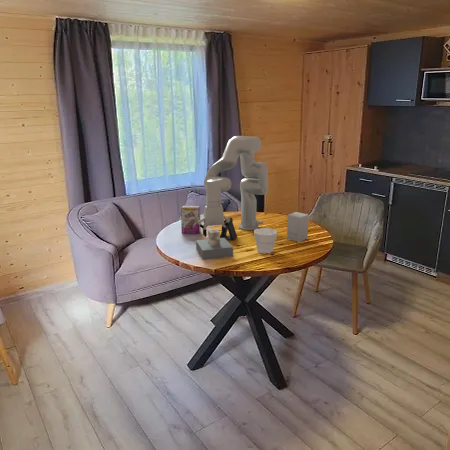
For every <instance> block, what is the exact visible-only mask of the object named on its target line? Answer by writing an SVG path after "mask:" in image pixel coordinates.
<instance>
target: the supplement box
mask: <svg viewBox="0 0 450 450" xmlns="http://www.w3.org/2000/svg"><path fill="white" fill-rule="evenodd" d="M309 217H310V215H309V214H307V213H303V212H298V211H294V212H292V213H289V214H287V221H286V222H287V226H286V227H287V228H286V240H288V239H290V240H289V241H292V240H293V241H292V242H296V241H297V243H301V242H304V241H306V240H308V235H309V220H310V219H309ZM305 239H306V240H305ZM303 240H304V241H303Z"/></svg>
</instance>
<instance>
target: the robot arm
mask: <svg viewBox="0 0 450 450" xmlns="http://www.w3.org/2000/svg"><path fill="white" fill-rule="evenodd" d="M261 148H262V140H261V139H260V137H258V136H252V135H251V136H250V135H249V136H248V135H247V136H246V135H235V136H233V137H231V138H230V139H229V140H228V142H227V143H226V146H225V149H224V151H223V154H222V156H221V158H220V159H218V160H217V161H216V162H215V163H214V164H212V165H211V166H210V167H209V168H208V171H207V172H206V175H205V178H204V182H203V185H204V188H205V192H206V193H205V195H206V196H205V197H206V200H205V202H206V203H205V204H206V205H205V206H204V209H203V217H201V218H200V220H199V221H197V222H198V224H199V226H200V228H201V229H202V235H203V236H204V238H206V237H208V231H207V228H208V227H212V226H221V232H222V234H223V235H224V233H225V228H226V226H227V225H228V224H229V221H230V219H229V217H227V216H225V215H224V208H223V205H222V204H224V203H225V202H224V200H222V193H223V192H224V193H225V192H228V191H229V190H230V189H231V187H232V181H231V178H228V177H226V176H217V175H218V174H220V173H221V172H225V171H229V170H231V169H233V168H235V167H236V166H237V163H238V159H240V162H239V163H240V172H241V175H242V176H243V177H244V178H242V179H241V180H240V182H239V189H240V195H241V196H240V197H241V199H240V207H241V208H240V209H241V210H240V212H241V214H240V224H239V225H238V228H239V229H240V230H243V231H254V230H256V229H259V225H264V221H263V220H257V198H256V196H255V195H258V196H259V195H260V196H264V195H266V194H268V192H269V175H268V174H269V173H268V172H269V171H268V169H269V168H268V165H267V164H266V163H265V162H261V161H256V160H255V153H257V152H259V151H260V149H261ZM224 220H227V221H226V222H225V223H224ZM202 223H203V224H202Z"/></svg>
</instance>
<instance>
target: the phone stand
mask: <svg viewBox="0 0 450 450" xmlns="http://www.w3.org/2000/svg"><path fill="white" fill-rule="evenodd" d="M228 218H229V219H230V221H229V224H228V225H227V226H226V228H225V233H224V235H223V234H222V231H221V232H220V238H225V239H226V240H227V241H235V240H236V239H237V238H238V234H237V232H236V228H235V225H234V223H233V220H234V219H233V217H230V216H229V217H228ZM226 221H227V220H226V219H224V223H225V222H226ZM227 234H229V235H227Z"/></svg>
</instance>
